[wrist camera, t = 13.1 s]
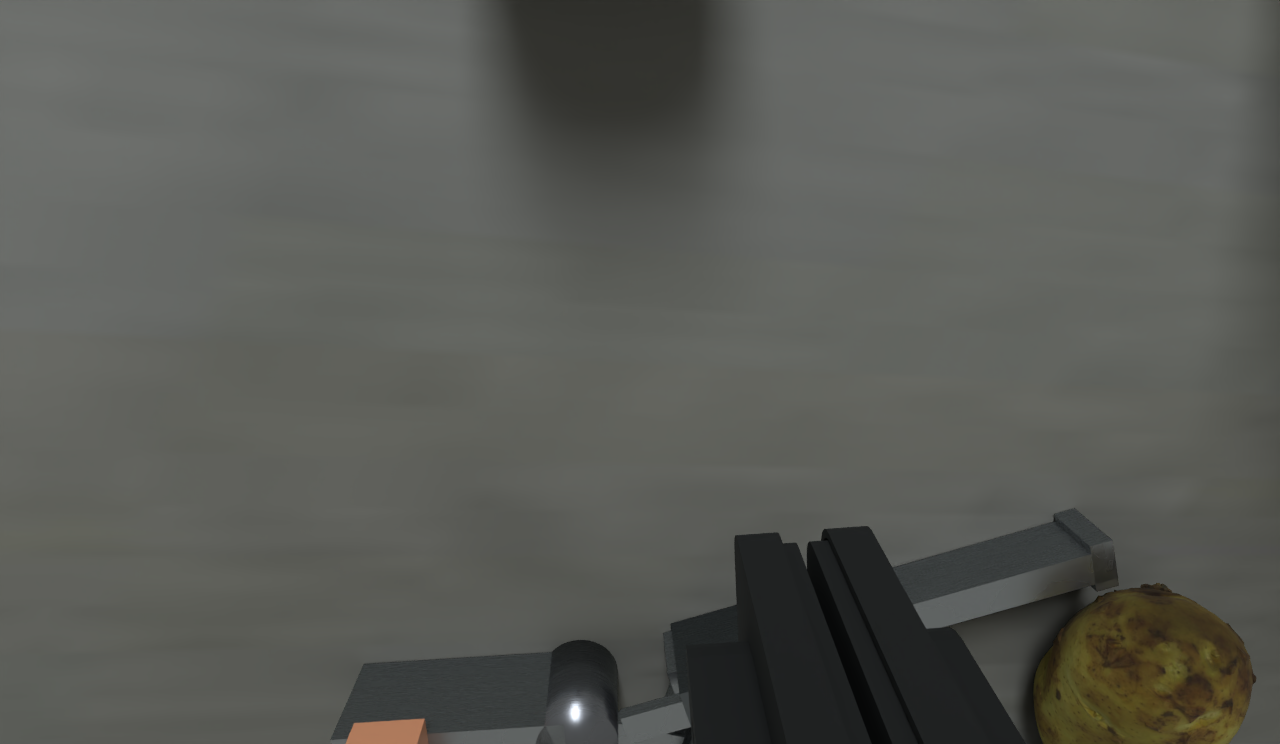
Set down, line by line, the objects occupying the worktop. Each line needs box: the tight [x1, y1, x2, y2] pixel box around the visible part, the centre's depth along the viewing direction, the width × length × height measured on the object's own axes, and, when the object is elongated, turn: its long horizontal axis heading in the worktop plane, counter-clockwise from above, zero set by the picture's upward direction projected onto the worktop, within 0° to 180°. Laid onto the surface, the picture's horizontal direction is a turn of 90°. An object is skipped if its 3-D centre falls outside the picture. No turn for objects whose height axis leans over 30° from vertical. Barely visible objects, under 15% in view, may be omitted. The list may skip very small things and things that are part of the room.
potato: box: [1033, 583, 1256, 744], centre depth 37 cm, size 8×13×8 cm, turn 169°
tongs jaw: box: [620, 508, 1119, 744], centre depth 37 cm, size 23×2×5 cm, turn 107°
